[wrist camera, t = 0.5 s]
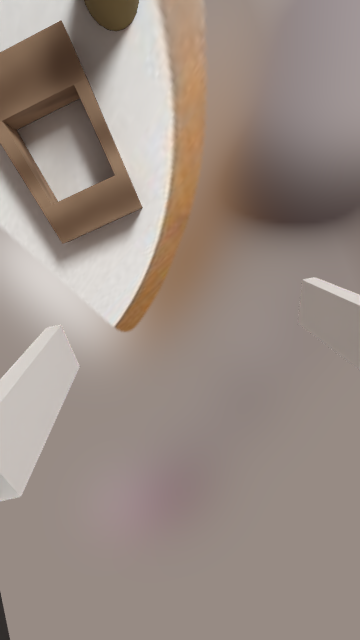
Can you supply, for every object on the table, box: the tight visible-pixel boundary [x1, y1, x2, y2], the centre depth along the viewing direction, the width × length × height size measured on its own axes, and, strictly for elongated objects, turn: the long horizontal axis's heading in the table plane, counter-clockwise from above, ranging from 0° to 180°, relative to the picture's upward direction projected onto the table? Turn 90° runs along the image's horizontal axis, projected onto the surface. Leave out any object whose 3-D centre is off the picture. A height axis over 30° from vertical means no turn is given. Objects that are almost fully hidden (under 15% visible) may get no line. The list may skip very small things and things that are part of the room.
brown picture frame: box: [0, 21, 142, 244], centre depth 28 cm, size 18×12×3 cm, turn 24°
